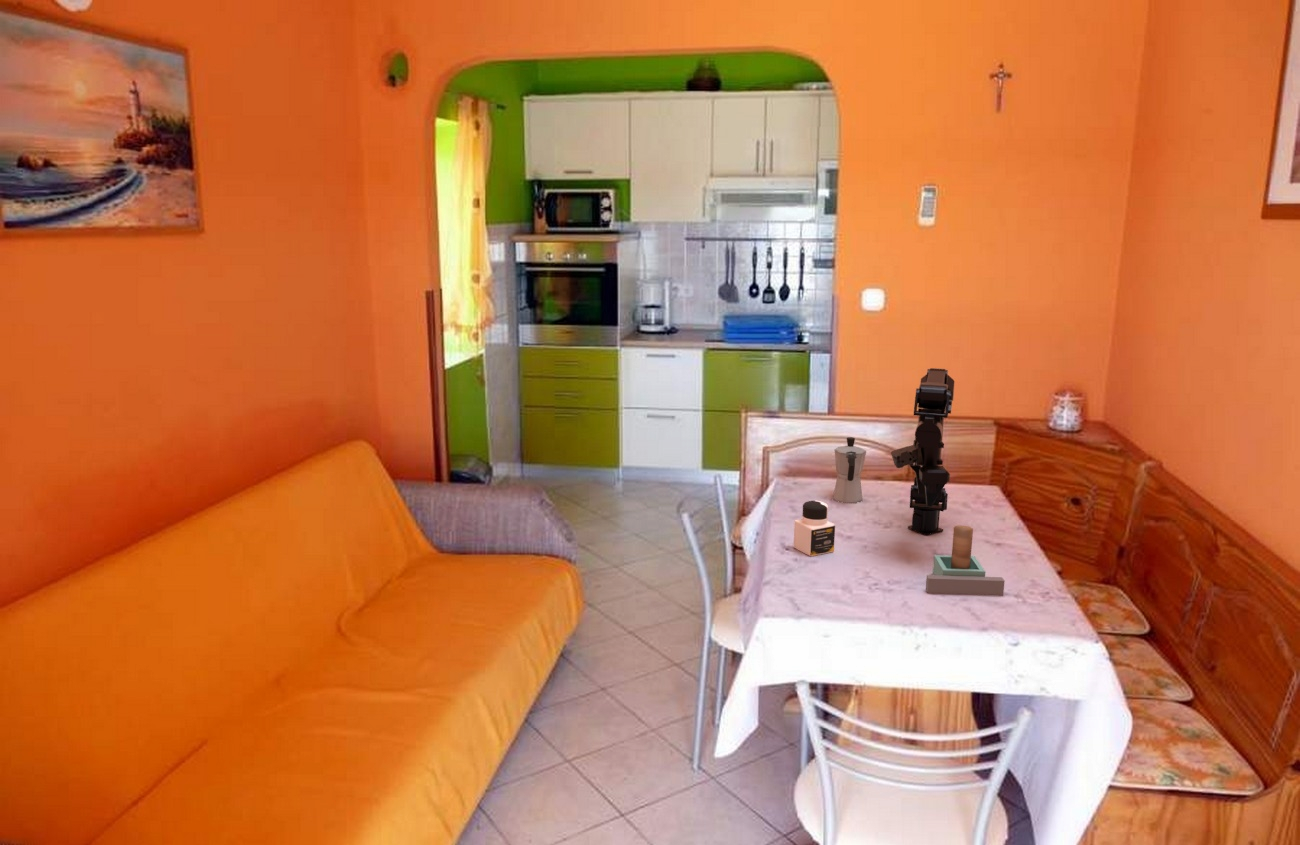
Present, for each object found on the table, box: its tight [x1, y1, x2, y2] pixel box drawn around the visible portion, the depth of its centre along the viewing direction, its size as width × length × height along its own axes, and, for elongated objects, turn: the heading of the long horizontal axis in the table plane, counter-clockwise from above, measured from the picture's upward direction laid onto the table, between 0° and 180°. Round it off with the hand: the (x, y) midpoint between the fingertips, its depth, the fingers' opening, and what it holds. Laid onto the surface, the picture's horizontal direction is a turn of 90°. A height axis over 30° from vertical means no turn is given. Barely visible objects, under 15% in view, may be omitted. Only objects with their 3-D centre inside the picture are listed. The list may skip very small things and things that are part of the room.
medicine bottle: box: [793, 500, 836, 557], centre depth 228 cm, size 7×7×12 cm
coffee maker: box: [832, 436, 867, 504], centre depth 265 cm, size 15×9×18 cm, turn 172°
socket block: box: [932, 554, 986, 577], centre depth 209 cm, size 9×9×4 cm
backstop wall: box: [925, 574, 1005, 597], centre depth 204 cm, size 2×16×4 cm, turn 86°
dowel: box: [951, 525, 974, 569], centre depth 207 cm, size 4×4×12 cm
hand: (925, 500), depth 225 cm, fingers open, 9 cm apart
